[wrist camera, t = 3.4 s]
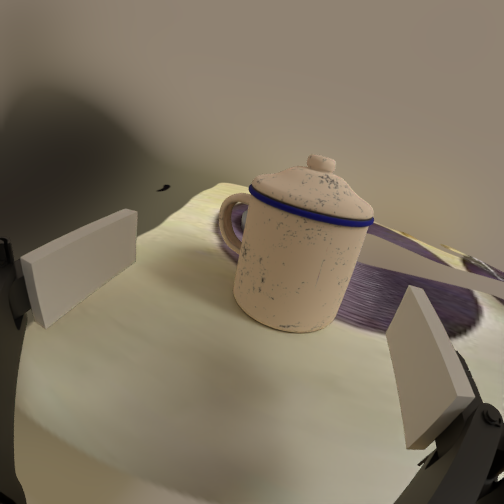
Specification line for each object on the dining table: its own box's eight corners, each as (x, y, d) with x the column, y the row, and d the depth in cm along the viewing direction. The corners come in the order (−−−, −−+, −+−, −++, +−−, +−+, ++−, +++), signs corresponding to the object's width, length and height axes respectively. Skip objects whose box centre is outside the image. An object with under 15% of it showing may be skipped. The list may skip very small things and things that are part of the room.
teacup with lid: (349, 301, 25) (391, 176, 20) (314, 356, 18) (378, 176, 13) (241, 253, 30) (263, 140, 25) (178, 282, 23) (196, 132, 18)
